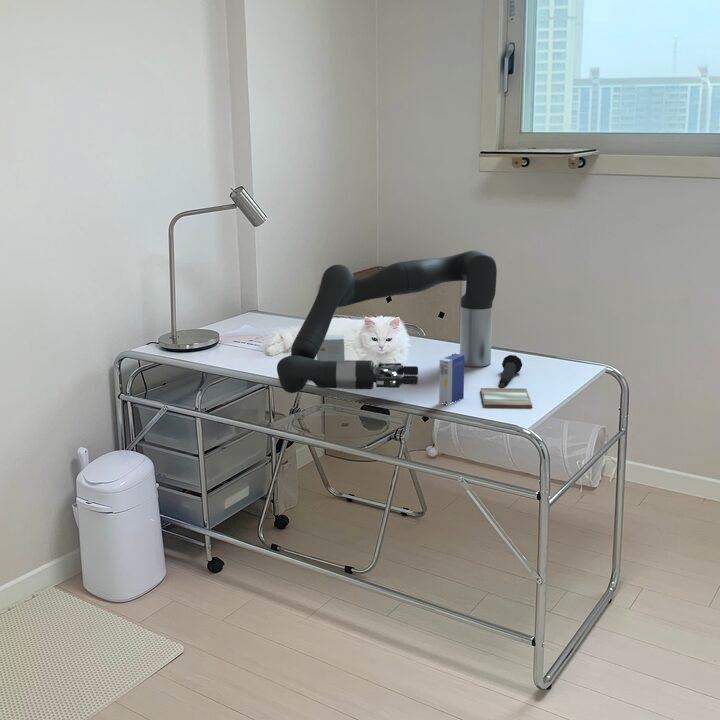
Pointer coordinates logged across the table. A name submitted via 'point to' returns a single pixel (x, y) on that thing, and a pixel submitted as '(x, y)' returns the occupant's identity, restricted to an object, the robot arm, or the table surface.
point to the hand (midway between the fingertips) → (417, 375)
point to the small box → (332, 349)
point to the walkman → (451, 378)
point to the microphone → (509, 369)
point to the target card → (506, 398)
